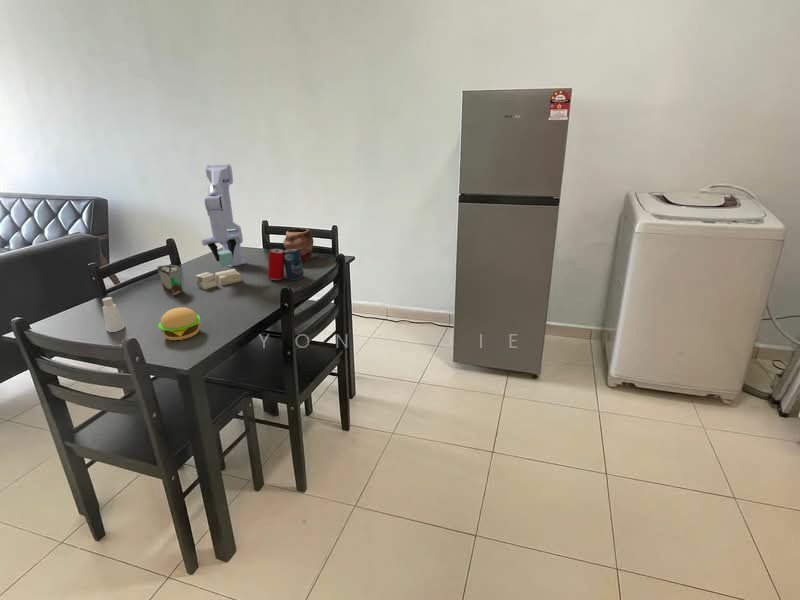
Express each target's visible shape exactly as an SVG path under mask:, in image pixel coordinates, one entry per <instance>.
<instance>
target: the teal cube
mask: <svg viewBox="0 0 800 600" xmlns="http://www.w3.org/2000/svg"><path fill="white" fill-rule="evenodd" d="M218 256H219V261H216V262H217V264H218V265H219V266H220V267H221V268H222V267H223V268H224V267H229V266H228V265H233V264H234V261H233V256H232V252H230V251H229V250H224V251H223V250H220V251H218Z"/></svg>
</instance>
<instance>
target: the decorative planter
mask: <svg viewBox="0 0 800 600" xmlns="http://www.w3.org/2000/svg"><path fill="white" fill-rule="evenodd" d="M282 243H283V246H284V248H285V249H289V248H297V249H298V251H299V252H300V257H301V262H302V263H303V262H307V261H310V260H311V259H312V255H313V248H314V247H313V246H314V237H313V233H312V231H311V230H309V229H308V228H291V229H288V230H287V231H286V232H285V238H284V240H283V241H282Z"/></svg>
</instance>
